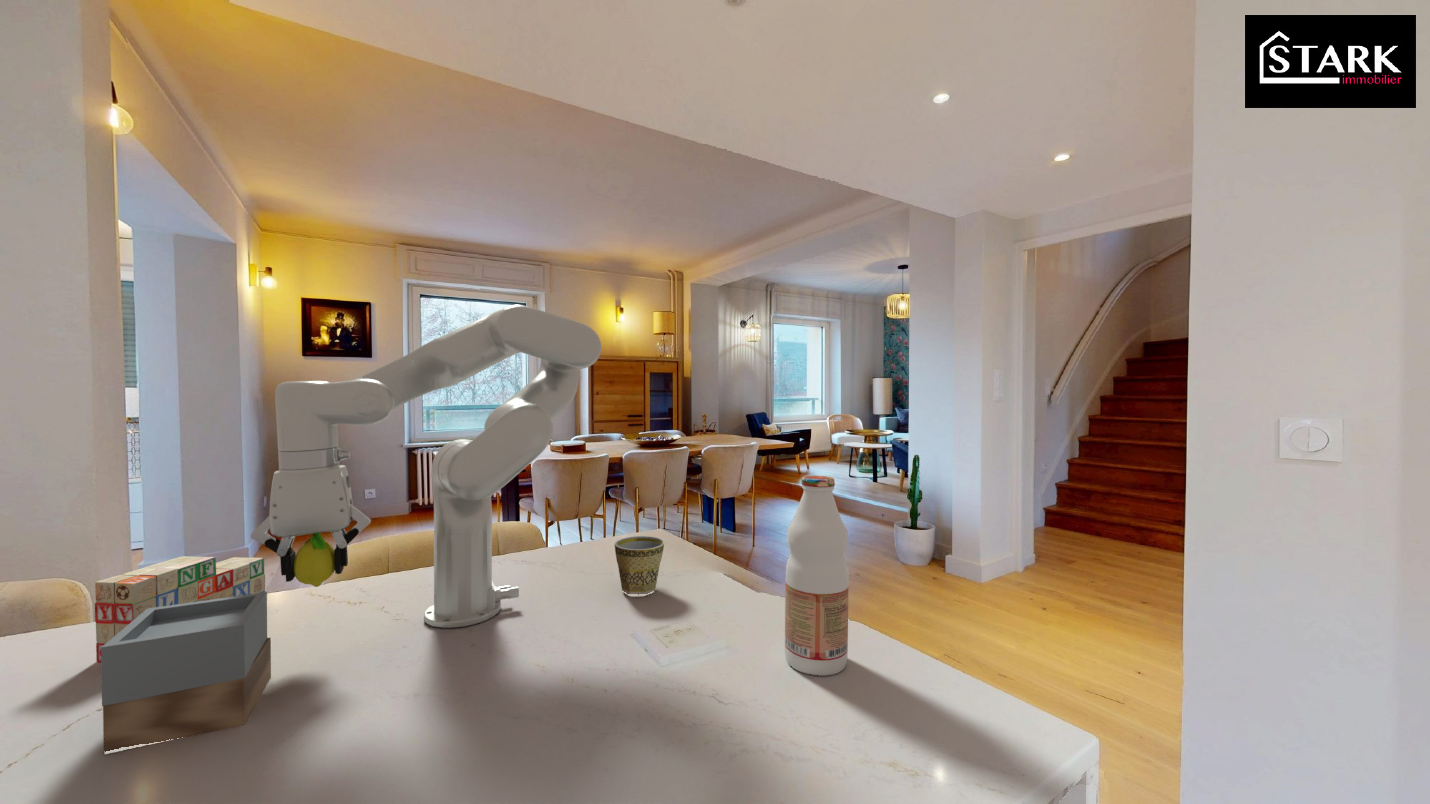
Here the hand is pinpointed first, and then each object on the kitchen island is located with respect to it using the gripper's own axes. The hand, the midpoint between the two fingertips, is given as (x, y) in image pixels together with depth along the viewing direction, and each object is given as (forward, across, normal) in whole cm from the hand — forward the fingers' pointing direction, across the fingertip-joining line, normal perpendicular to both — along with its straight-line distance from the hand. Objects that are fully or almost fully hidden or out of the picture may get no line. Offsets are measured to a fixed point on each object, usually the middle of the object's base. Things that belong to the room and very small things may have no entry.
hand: (315, 573), depth 84 cm
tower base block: (+11, +10, +14) cm, 21 cm away
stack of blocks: (+11, +20, -16) cm, 28 cm away
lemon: (+2, 0, 0) cm, 2 cm away
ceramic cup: (+14, -54, -2) cm, 55 cm away
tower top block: (+5, +10, +14) cm, 18 cm away
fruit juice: (+14, -68, +38) cm, 79 cm away
